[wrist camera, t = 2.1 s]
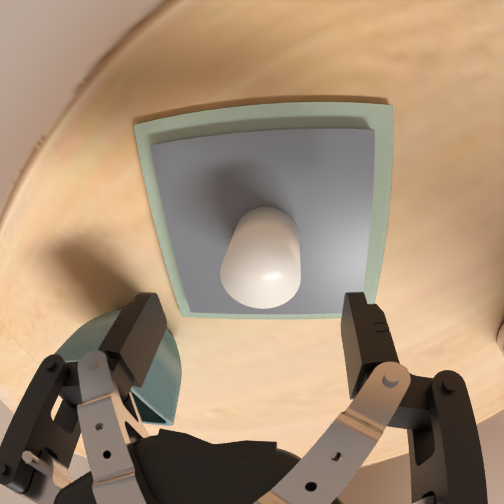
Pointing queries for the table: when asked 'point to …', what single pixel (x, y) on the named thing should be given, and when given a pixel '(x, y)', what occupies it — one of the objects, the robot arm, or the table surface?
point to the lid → (269, 217)
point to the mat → (271, 118)
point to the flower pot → (158, 377)
